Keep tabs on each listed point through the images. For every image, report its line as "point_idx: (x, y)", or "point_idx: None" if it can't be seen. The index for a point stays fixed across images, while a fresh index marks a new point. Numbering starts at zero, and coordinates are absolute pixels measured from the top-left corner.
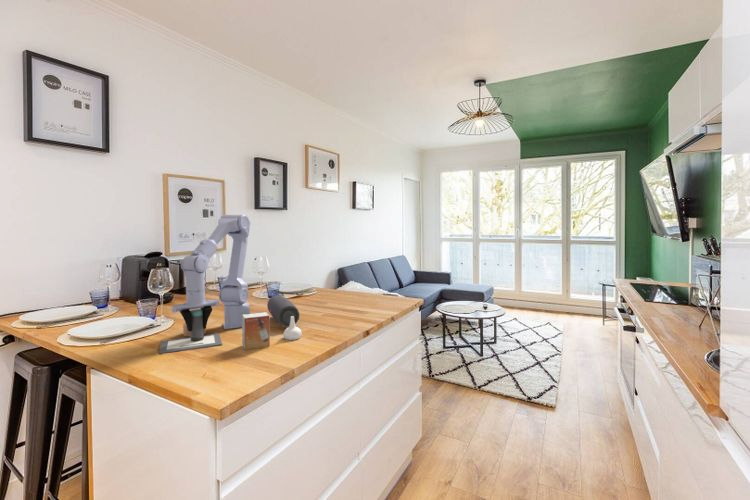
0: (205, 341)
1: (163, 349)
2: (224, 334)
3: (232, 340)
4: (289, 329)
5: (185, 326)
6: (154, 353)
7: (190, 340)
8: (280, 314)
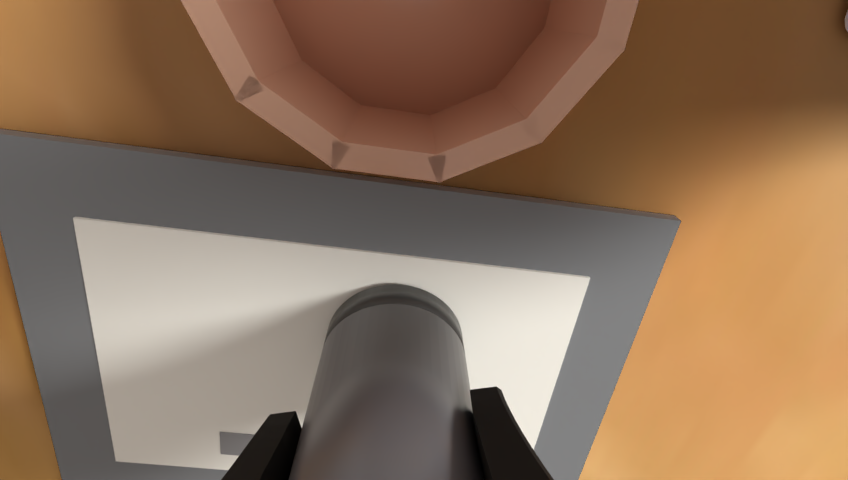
0: None
1: (87, 438)
2: (713, 253)
3: (673, 463)
4: None
5: (228, 68)
6: (30, 451)
7: (324, 329)
8: None
